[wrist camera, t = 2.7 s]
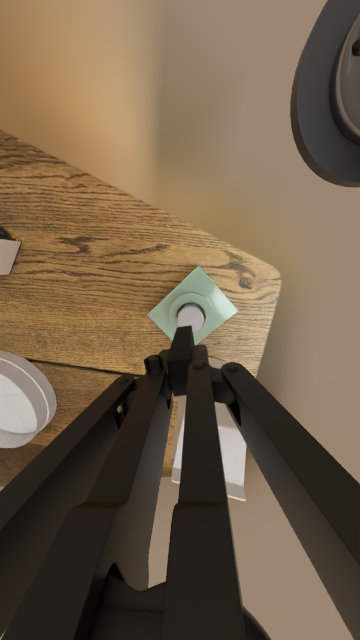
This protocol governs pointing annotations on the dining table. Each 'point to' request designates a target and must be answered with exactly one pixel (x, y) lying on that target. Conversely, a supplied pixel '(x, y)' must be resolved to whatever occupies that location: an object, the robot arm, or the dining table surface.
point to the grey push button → (191, 317)
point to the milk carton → (229, 441)
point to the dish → (23, 400)
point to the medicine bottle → (7, 250)
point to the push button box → (200, 293)
